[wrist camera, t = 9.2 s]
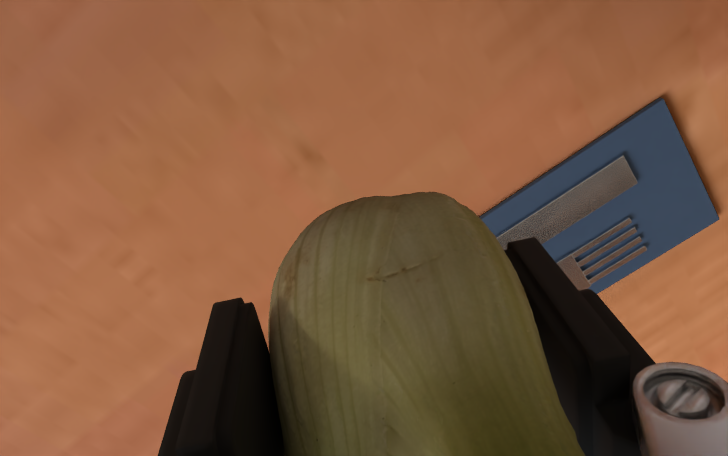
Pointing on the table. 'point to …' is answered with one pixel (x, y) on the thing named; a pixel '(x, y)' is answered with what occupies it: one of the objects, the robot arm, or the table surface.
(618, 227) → the cutlery
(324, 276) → the fennel bulb
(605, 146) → the napkin
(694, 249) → the table surface
